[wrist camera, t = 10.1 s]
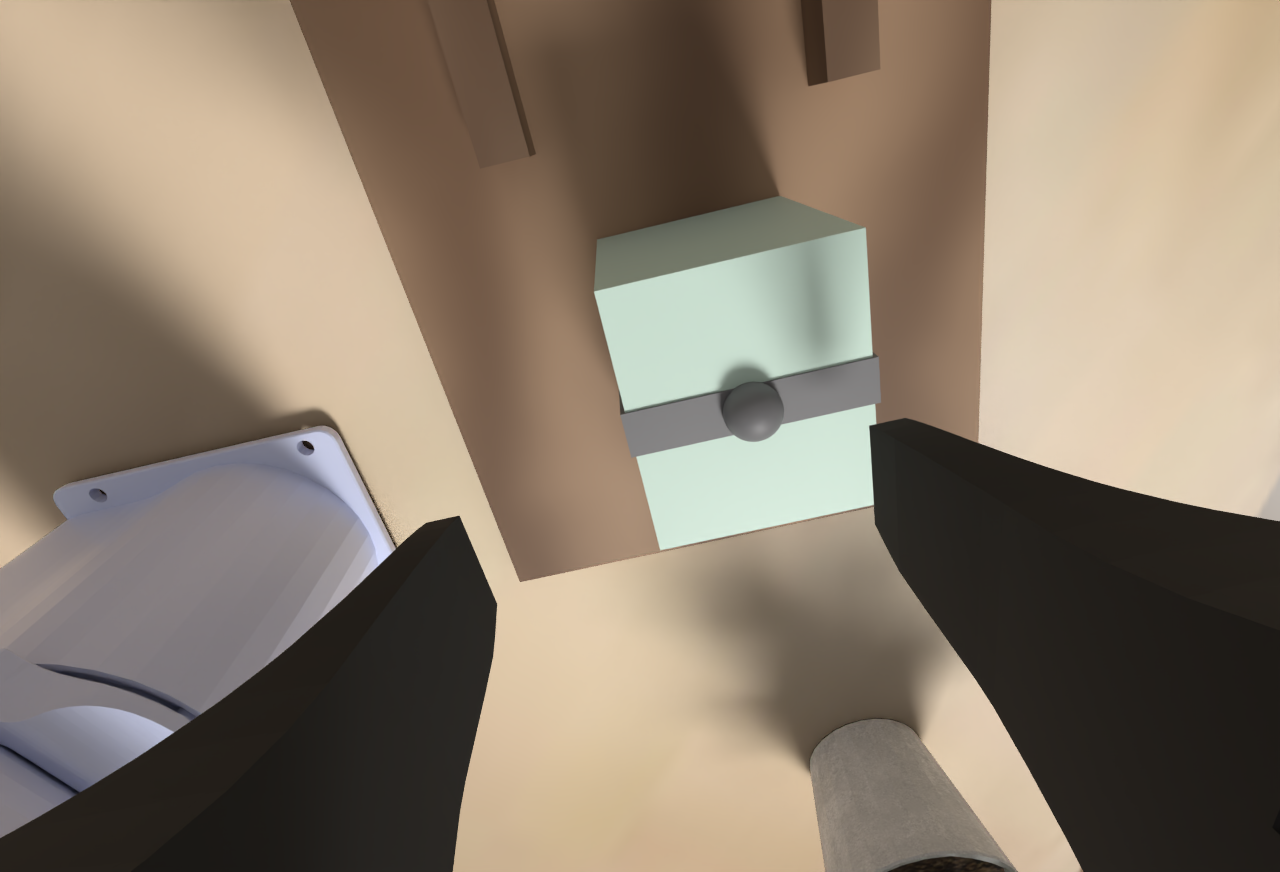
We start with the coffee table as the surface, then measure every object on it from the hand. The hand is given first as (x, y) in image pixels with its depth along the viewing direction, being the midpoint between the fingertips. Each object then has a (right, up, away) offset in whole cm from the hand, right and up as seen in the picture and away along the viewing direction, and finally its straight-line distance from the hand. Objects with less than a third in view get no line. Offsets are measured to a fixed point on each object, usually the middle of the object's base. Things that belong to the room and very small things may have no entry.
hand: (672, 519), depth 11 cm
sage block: (+1, +5, +7) cm, 9 cm away
